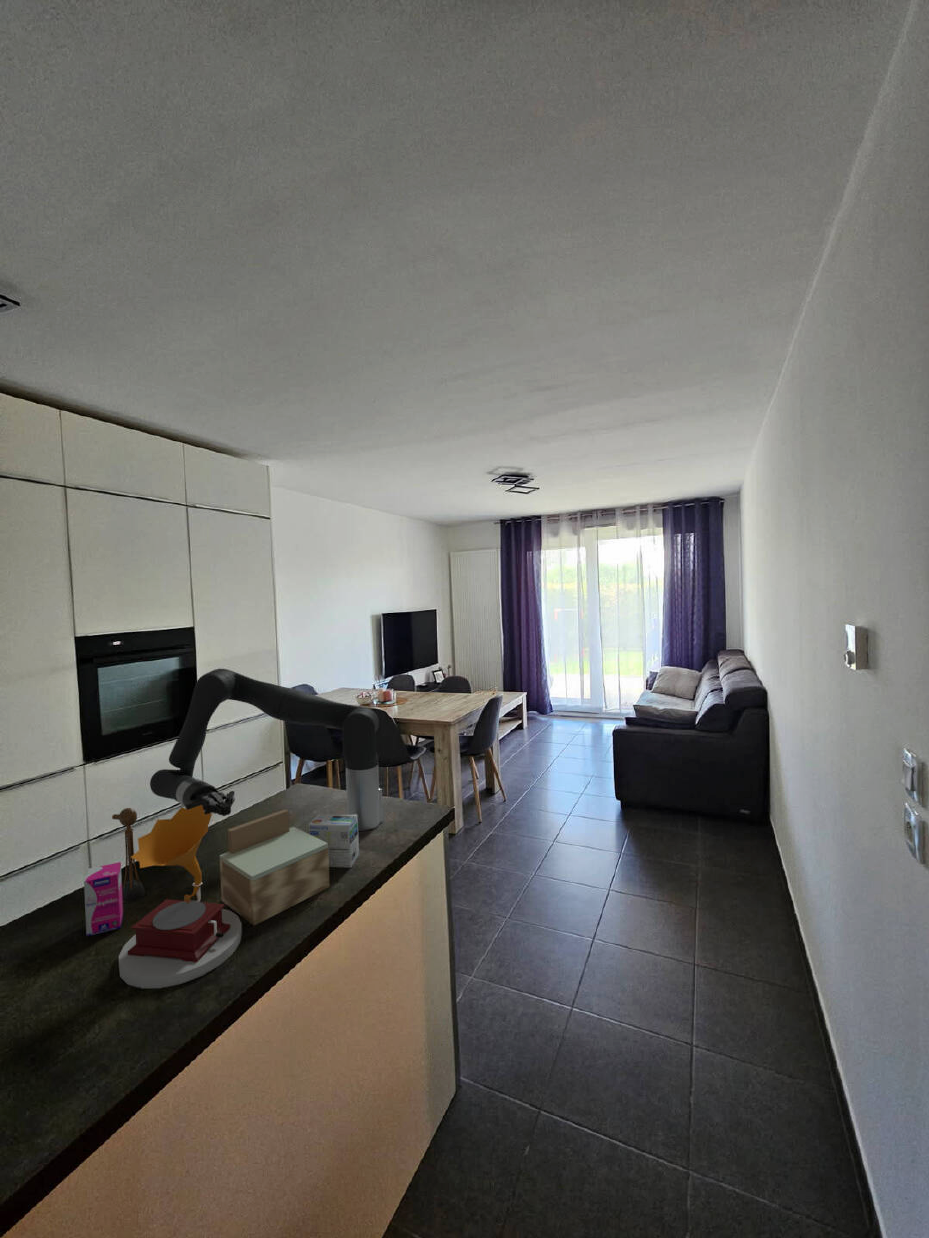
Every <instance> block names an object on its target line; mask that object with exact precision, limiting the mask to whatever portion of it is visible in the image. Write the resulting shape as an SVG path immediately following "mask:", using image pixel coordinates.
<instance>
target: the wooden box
mask: <svg viewBox="0 0 929 1238" xmlns="http://www.w3.org/2000/svg"><path fill="white" fill-rule="evenodd" d="M219 873H220V892H221V896H220V897H221V901H222V902H223V904H225V906H228V907H229V908H231V909H232V910H233V911H234V912H236V913H237V914H239V916H241V917H242V918H243V919H245V920H246V921H247V922H249V923H250V924H251V925H252V926H256V925H258V924H260V923H262V922H264V921H266V920H268V919H270V918H272V917H274V916H276V915H279V914H280V913H282V912H284V911H286V910H287V909H289V908H291V907H293V906H295V905H298V904H299V903H301V902H303V901H305V900H307V899H309V898H311V897H313V896H315V895H317V894H318V893H321V892H323V891H324V890H326V889H329V888H330V867H329V858H328V848H326V849H324V850H322V851H319V852H317V853H315V854H313V855H310V856H308V857H306V858H304V859H302V860H299V861H297V862H295V863H293V864H290V865H288V866H286V867H284V868H281V869H279V870H277V871H275V872H272V873H270V874H268V875H266V876H263V877H261V878H259V879H257V880H254V881H251V880H249V879H248V878H246V877H245V876H243V875H242V874H240V873H239V872H237V871H236V870H234V869H233V868H231V867H230V866H228V865H227V864H225V863H224V862H222V861H221V860H220V859H219Z"/></svg>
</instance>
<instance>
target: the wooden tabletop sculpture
mask: <svg viewBox="0 0 929 1238" xmlns="http://www.w3.org/2000/svg"><path fill="white" fill-rule="evenodd" d="M111 818H112V820H118V821H119V823H120V824H121V825H122V826H125V827H126V829H125V830H124V842H125V872H124V882H123V884H122V899H123V901H125V902H128V903H130V902H129V901H132V902H136V901H138V900H139V898H140V899H141V897H142V896H143V895H146V889H145V887H144V885H143V884H142V882H140V879H139V876H138V871H137V866H136V860H135V859H133V858H131V857H132V856H133V855H134V854H135V847H134V828H132V826H134V824H135V823H136V822H137V819H138V814H137V812H136V809H133V808H131V807H126V808H123V809H122V810H121V811H120V812H119V814H118V813H114V814H112V816H111ZM134 874H135V878H134ZM128 875H129V876H128ZM127 876H128V878H129V879H128V881H127ZM143 897H144V896H143ZM143 897H142V898H143ZM137 899H138V900H137Z"/></svg>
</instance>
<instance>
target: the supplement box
mask: <svg viewBox="0 0 929 1238" xmlns="http://www.w3.org/2000/svg"><path fill="white" fill-rule="evenodd" d="M83 885H84V886H83V887H84V908H85V909H84V910H85V929H86V931H85V933H86V937H91V936H94V935H99V934H102V933H105V932H110V931H113V930H114V931H115V930H118V929H121V926H122V922H123V917H124V904H123V903H124V902H123V899H122V888H123V881H122V862H114V863H109V864H105V865H98V866H95V867H90V868H87V871H86V875H85V878H84V880H83Z"/></svg>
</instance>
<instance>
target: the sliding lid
mask: <svg viewBox="0 0 929 1238" xmlns="http://www.w3.org/2000/svg"><path fill="white" fill-rule="evenodd" d="M227 845H228V846H227V849H228V851H227V852H225V853H223V854H222V853H221V854H220V855H219V861H220V860H221V861H222V862H224V863H225V864H227V865H228V866H230V867H231V868H233V869H234V870H236V871H237V872H239V873H240V874H242V875H243V876H245V877H246V878H248V879H249V880H251V881H254V880H257V879H259V878H261V877H263V876H266V875H268V874H270V873H272V872H275V871H277V870H279V869H281V868H284V867H286V866H288V865H290V864H293V863H295V862H297V861H299V860H302V859H304V858H306V857H308V856H310V855H313V854H315V853H317V852H319V851H322V850H324V849H326V848H328V843H326V842H324V841H322V840H320V839H318V838H316V837H314V836H312V835H310V834H309V832H308V833H307V832H305V831H303V830H301V829H299V828H297V827H296V826H292V827H290V810H288V809H282V810H279V811H276V812H273V813H271V814H268V815H265V816H262V817H259V818H257V819H254V820H251V821H248V822H245V823H242V824H239V825H237V826H233V827H231V828H228V829H227Z"/></svg>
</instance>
